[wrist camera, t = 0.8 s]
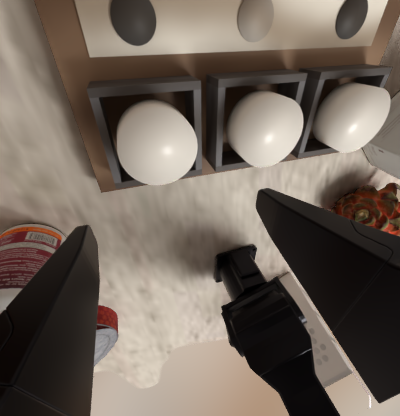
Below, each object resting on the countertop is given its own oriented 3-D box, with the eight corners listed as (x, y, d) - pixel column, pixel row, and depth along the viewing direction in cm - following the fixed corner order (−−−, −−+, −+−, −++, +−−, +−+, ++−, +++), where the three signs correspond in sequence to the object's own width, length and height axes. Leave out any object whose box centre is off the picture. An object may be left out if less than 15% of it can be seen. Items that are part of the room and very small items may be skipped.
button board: (330, 144, 27) (362, 160, 23) (102, 181, 21) (100, 209, 17) (391, -22, 18) (455, -35, 15) (28, -39, 12) (-4, -67, 9)
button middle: (276, 150, 20) (293, 162, 18) (224, 158, 19) (236, 172, 17) (290, 87, 17) (312, 93, 15) (228, 92, 15) (243, 100, 14)
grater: (245, 300, 45) (313, 436, 30) (289, 271, 43) (385, 400, 28) (264, 313, 51) (327, 428, 36) (303, 288, 50) (387, 399, 35)
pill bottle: (-20, 235, 20) (-114, 378, 12) (48, 212, 21) (4, 333, 13) (26, 271, 24) (-19, 399, 16) (82, 252, 25) (67, 363, 17)
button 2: (189, 164, 18) (198, 178, 16) (125, 174, 17) (127, 191, 15) (186, 95, 15) (196, 104, 13) (107, 102, 14) (106, 113, 12)
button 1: (349, 139, 21) (371, 148, 20) (305, 146, 20) (324, 156, 19) (374, 80, 18) (402, 85, 17) (323, 84, 17) (348, 90, 15)
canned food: (72, 277, 33) (81, 315, 25) (124, 301, 39) (145, 339, 31) (14, 347, 31) (4, 414, 23) (78, 363, 36) (89, 421, 28)
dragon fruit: (309, 193, 33) (358, 183, 38) (317, 249, 34) (364, 231, 39) (373, 188, 26) (424, 175, 31) (382, 259, 26) (430, 236, 31)
